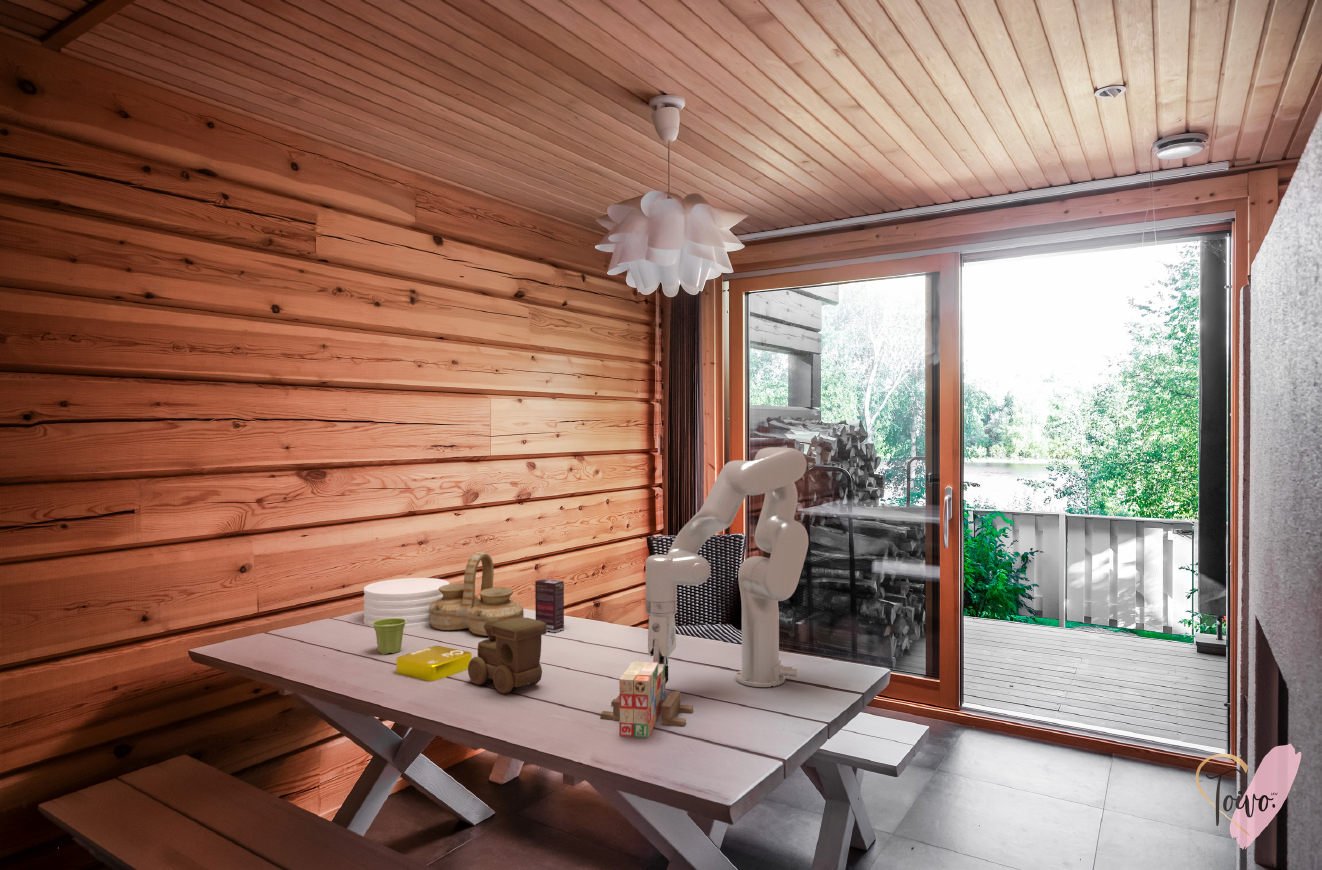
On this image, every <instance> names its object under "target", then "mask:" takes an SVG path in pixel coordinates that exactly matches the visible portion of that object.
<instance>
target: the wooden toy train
mask: <svg viewBox="0 0 1322 870" xmlns="http://www.w3.org/2000/svg"><path fill="white" fill-rule="evenodd" d="M484 629H485V631H486V633H487V635H488V636H487V639H484V640H481V641H479V642H478V644H477V656H474V657H472V659H471V660H470V662H469V665H468V669H467V674H468V678H469V679H470V681H471V682H472V683H473V684H475V685H478V686H481V685H483V684H484V683H485V682H486V681H487V678H488V679H491V680H493V685H494V687H495V689H496V690H497V691H498V692H499V693H500V694H503V695H504V694H505V695H508V694H510V693H511V691H512V690H513V688H519V687H523V686H526V685H534V686H536V685H537V684H538V683H539V682H540V681H541V680H542V676H543V669H542V665H541V663H540V661H541V655H542V653H541V652H542V635H545V634H547V631H546V623H544V622H542V621H539V620H536V618H535V619H534V618H530V617H525V616H524V617H520V618H512V619H508V620H503V621H499V620H498V619H497V618H488V620H487V621H486V623H485V625H484Z"/></svg>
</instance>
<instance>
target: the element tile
mask: <svg viewBox="0 0 1322 870" xmlns="http://www.w3.org/2000/svg"><path fill="white" fill-rule="evenodd" d="M472 656H473V655H472V652H471V651H468V650H467V651H466V650H461V649H457V648H451V647H447V646H443V645H434V646H433V645H432V646H430V647H426V648H423V649H419V650H417V651H413V652H411V653H407V654H403V655H401V656H397V658H396V661H395V664H396V665H395V666H396V668H395V669H396V671H395V672H396V674H397V675H401V676H405V677H410V678H414V679H417V680H421V679H422V680H421V681H426V682H435V680H436V681H439V680H438V679H440V680H442V679H445V678H447V676H448V677H451V676H453V674H454V675H455V674H456V675H457V674H459V673H462V672H464V671H463V670H465V671H467V670H468V665H469V662H470V660H471V659H472V658H473V657H472ZM466 669H467V670H466ZM450 675H451V676H450ZM444 677H445V678H444ZM441 678H442V679H441Z"/></svg>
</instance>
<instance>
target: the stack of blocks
mask: <svg viewBox="0 0 1322 870" xmlns="http://www.w3.org/2000/svg"><path fill="white" fill-rule="evenodd" d="M618 683H619V687H618V689H619V694H618V696H619V707H620V720H619V724H618V725H619V728H618V729H619V733H618V734H619V737H626V736H631V737H630V738H641V737H644V738H643V739H648V738H649V737H650V735H651V733H652V731H653V729H654V727H655V726H654V725H656V723H657V720H658V718H659V717H660V715H661V706H662V704H663V703H664V701H665V700H666V699H667V698H666V687H667V686H666V684H667V683H666V682H665V664H658V663H653V662H647V661H646V662H645V661H631V662H630V663H629V666H628V667H627V669H625V671H624V672H623V674H622V675H621V676H620V677H619V681H618ZM649 734H650V735H649Z"/></svg>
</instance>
